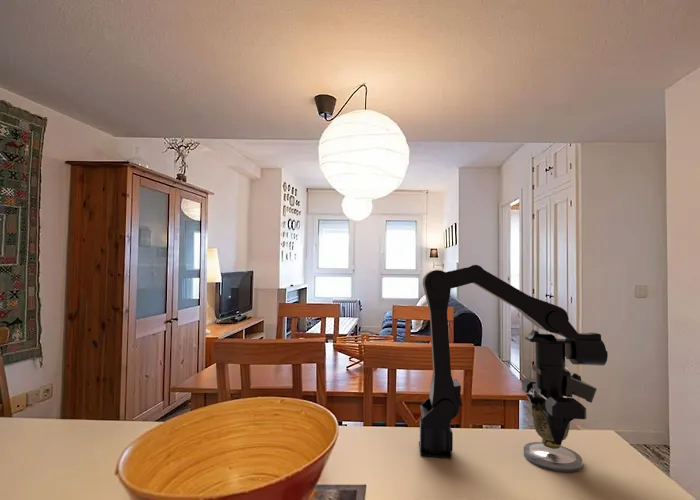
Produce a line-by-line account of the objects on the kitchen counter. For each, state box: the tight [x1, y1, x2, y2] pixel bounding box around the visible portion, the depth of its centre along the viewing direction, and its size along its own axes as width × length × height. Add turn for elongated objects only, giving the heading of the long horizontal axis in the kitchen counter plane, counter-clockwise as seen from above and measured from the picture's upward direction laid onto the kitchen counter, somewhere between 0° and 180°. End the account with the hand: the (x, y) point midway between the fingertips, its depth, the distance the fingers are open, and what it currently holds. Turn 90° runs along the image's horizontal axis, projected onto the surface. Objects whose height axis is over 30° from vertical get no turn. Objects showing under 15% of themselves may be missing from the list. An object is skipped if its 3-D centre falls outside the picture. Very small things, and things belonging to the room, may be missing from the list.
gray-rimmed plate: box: [523, 441, 583, 474], centre depth 81 cm, size 11×11×1 cm
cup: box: [530, 403, 571, 449], centre depth 81 cm, size 8×7×8 cm
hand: (551, 437), depth 81 cm, fingers closed on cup, 6 cm apart
